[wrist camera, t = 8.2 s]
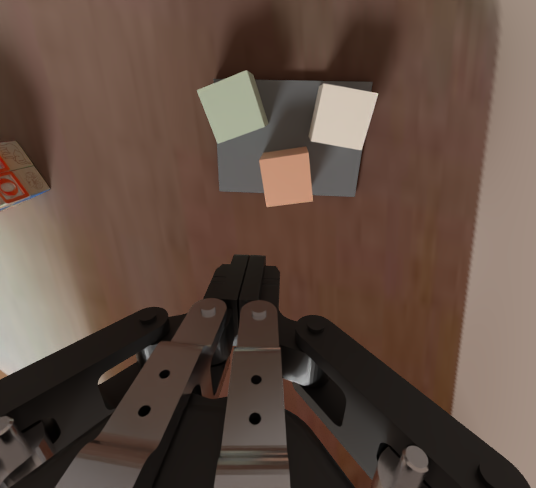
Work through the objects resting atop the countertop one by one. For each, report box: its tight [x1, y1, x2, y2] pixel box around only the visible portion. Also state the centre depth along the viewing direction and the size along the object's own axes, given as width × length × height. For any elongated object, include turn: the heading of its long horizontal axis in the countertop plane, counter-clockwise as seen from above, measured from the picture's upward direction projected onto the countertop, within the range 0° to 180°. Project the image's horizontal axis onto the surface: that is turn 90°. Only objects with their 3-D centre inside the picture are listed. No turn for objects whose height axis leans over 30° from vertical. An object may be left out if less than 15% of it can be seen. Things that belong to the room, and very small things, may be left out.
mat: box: [214, 79, 373, 197], centre depth 30 cm, size 11×15×1 cm
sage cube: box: [197, 70, 269, 144], centre depth 27 cm, size 4×4×4 cm
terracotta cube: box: [259, 146, 313, 207], centre depth 29 cm, size 4×4×4 cm
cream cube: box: [309, 83, 378, 150], centre depth 26 cm, size 4×4×4 cm
